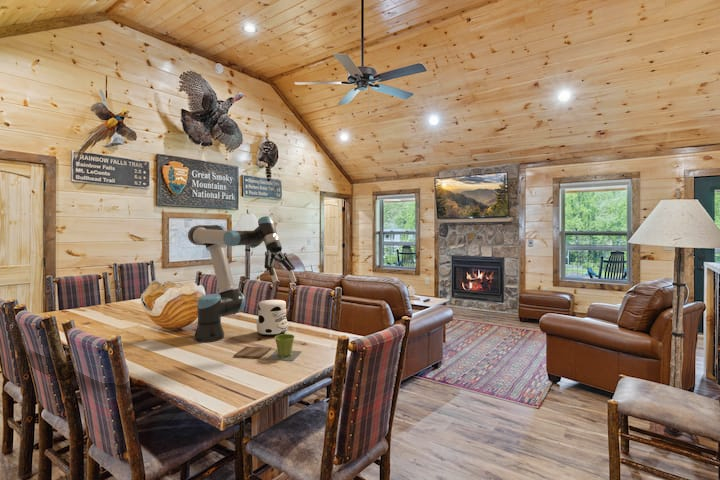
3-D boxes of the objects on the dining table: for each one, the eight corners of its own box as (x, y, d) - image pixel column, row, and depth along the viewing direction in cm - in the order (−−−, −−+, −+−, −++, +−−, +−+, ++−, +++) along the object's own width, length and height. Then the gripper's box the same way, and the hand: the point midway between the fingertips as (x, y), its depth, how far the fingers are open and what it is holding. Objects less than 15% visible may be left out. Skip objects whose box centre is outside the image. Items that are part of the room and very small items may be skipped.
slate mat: (266, 359, 176) (266, 358, 176) (276, 350, 189) (276, 349, 189) (293, 360, 174) (293, 360, 174) (302, 351, 187) (302, 351, 187)
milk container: (288, 336, 212) (288, 304, 211) (256, 338, 208) (256, 306, 207) (286, 328, 229) (286, 298, 228) (256, 330, 224) (256, 299, 224)
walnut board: (233, 357, 178) (233, 355, 178) (246, 348, 191) (246, 346, 191) (260, 358, 176) (260, 356, 176) (271, 349, 189) (271, 347, 189)
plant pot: (290, 358, 176) (290, 340, 175) (271, 357, 178) (271, 339, 177) (297, 352, 185) (297, 334, 185) (279, 351, 187) (279, 333, 186)
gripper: (260, 237, 183) (272, 277, 176) (293, 243, 204) (306, 279, 197) (249, 244, 186) (261, 284, 179) (283, 250, 207) (295, 285, 200)
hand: (285, 281), depth 188 cm, fingers open, 13 cm apart
